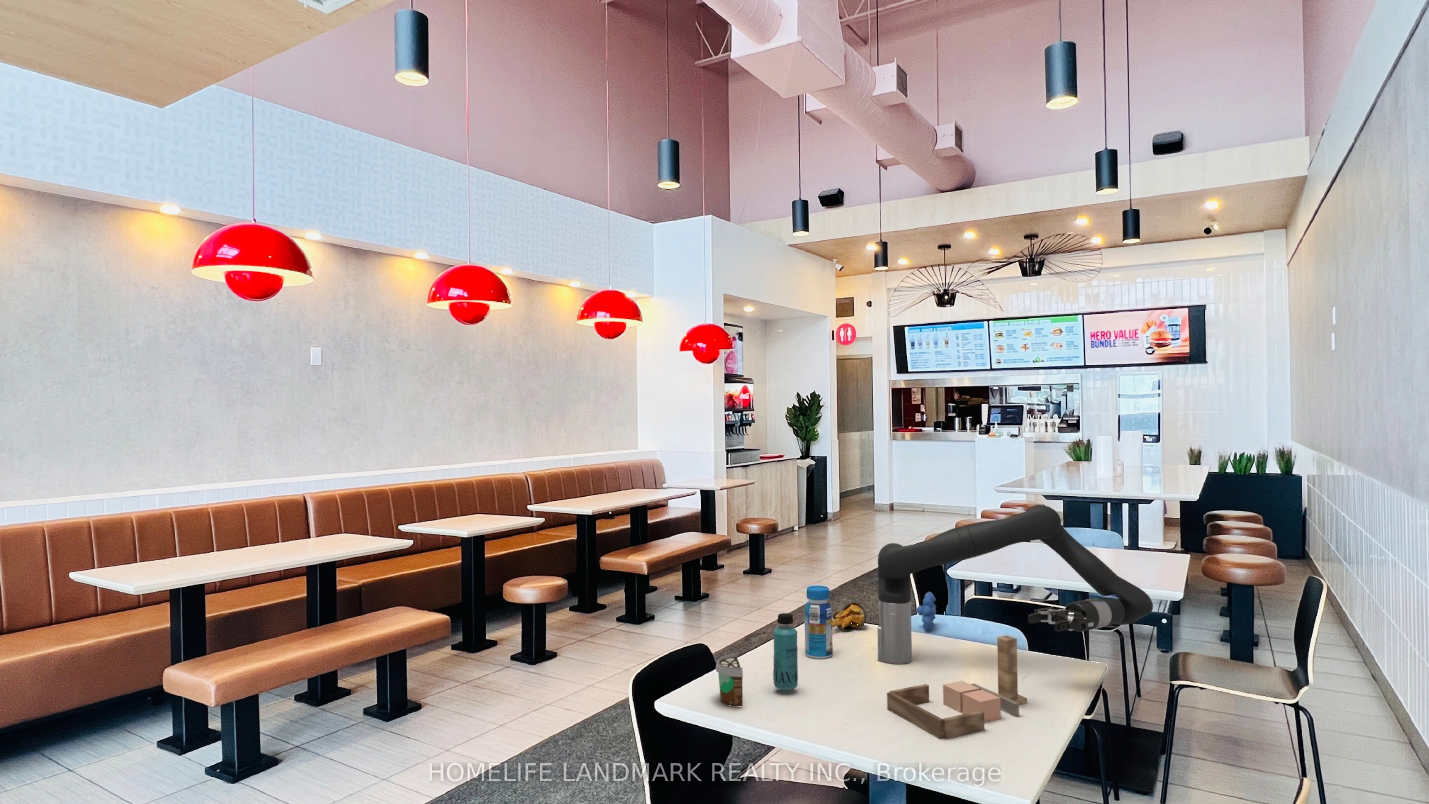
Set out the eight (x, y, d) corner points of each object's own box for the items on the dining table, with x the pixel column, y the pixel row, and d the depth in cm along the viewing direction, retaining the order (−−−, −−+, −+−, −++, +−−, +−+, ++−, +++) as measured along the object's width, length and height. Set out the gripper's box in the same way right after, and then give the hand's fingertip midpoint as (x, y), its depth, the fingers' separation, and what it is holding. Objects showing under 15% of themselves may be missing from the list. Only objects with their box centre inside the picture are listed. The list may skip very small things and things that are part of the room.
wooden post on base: (998, 690, 205) (997, 628, 205) (1044, 710, 191) (1042, 643, 191) (970, 696, 201) (969, 632, 201) (1015, 716, 187) (1014, 648, 187)
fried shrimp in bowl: (877, 613, 264) (853, 606, 251) (861, 642, 264) (836, 637, 251) (856, 598, 270) (831, 591, 257) (840, 627, 270) (815, 621, 257)
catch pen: (926, 700, 199) (925, 684, 199) (984, 729, 180) (984, 712, 180) (885, 708, 194) (885, 691, 194) (941, 739, 175) (941, 721, 175)
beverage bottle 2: (799, 653, 238) (798, 586, 238) (823, 649, 241) (822, 583, 242) (814, 661, 230) (813, 592, 230) (838, 656, 234) (837, 588, 234)
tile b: (962, 700, 198) (962, 680, 198) (979, 708, 193) (979, 688, 193) (943, 704, 196) (943, 684, 196) (960, 713, 190) (959, 692, 190)
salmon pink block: (982, 710, 192) (981, 689, 192) (1000, 719, 187) (1000, 697, 187) (962, 714, 190) (962, 693, 190) (980, 723, 184) (980, 701, 184)
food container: (714, 692, 206) (713, 653, 206) (737, 691, 207) (737, 652, 207) (718, 710, 194) (717, 669, 194) (743, 709, 194) (742, 668, 194)
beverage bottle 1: (768, 691, 206) (767, 614, 206) (784, 684, 211) (782, 609, 211) (788, 697, 202) (787, 618, 202) (803, 690, 206) (802, 613, 207)
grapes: (919, 623, 268) (918, 587, 268) (939, 625, 265) (939, 589, 266) (912, 632, 258) (912, 595, 258) (933, 634, 255) (933, 597, 255)
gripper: (1112, 635, 201) (1065, 645, 194) (1066, 622, 214) (1021, 631, 207) (1111, 606, 201) (1064, 614, 194) (1065, 594, 214) (1020, 602, 207)
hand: (1042, 622), depth 201 cm, fingers open, 8 cm apart
